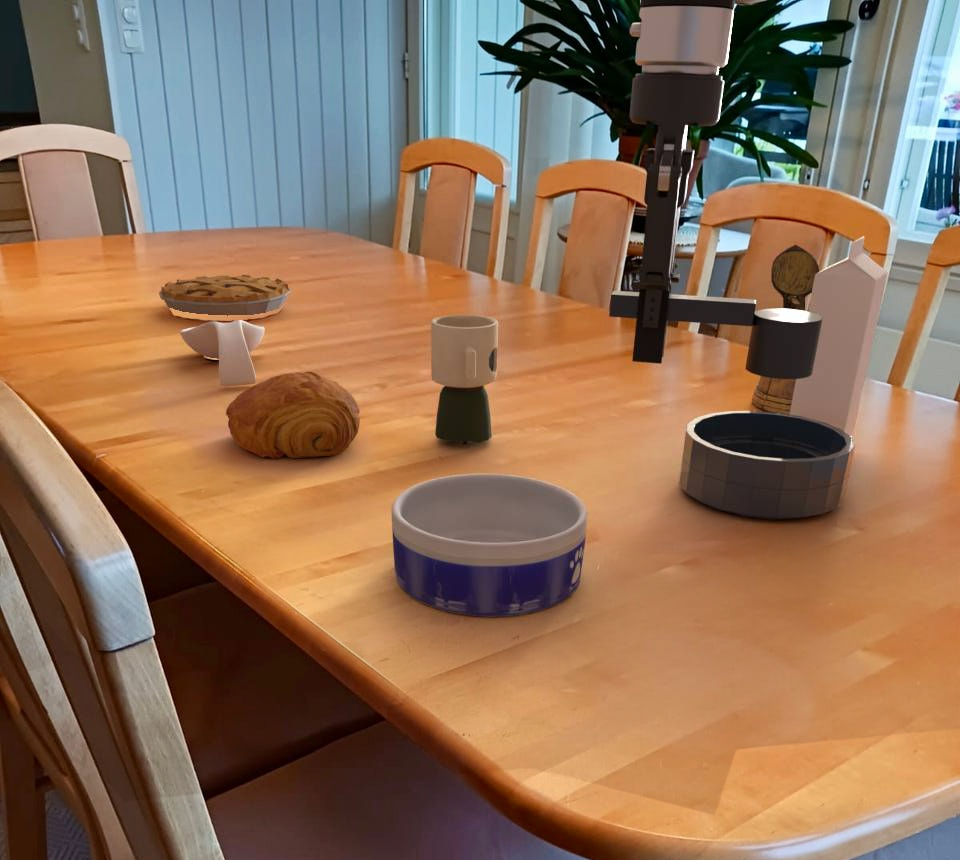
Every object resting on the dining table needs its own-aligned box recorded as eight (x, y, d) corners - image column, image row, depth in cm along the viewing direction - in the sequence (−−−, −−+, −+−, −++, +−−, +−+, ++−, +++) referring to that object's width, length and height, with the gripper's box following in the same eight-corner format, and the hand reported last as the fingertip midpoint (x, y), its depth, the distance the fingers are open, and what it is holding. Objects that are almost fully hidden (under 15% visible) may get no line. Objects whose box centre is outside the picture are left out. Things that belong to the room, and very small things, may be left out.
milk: (849, 451, 108) (897, 238, 97) (837, 466, 103) (886, 245, 93) (794, 441, 111) (835, 233, 100) (780, 455, 106) (821, 239, 95)
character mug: (503, 455, 104) (507, 331, 98) (437, 457, 103) (437, 332, 97) (486, 425, 114) (489, 310, 107) (426, 426, 113) (425, 310, 106)
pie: (310, 303, 175) (308, 273, 173) (259, 327, 157) (256, 295, 154) (199, 295, 179) (196, 267, 177) (137, 319, 161) (132, 287, 158)
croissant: (353, 435, 116) (351, 366, 113) (367, 460, 102) (365, 382, 99) (229, 438, 113) (224, 367, 110) (226, 463, 99) (219, 383, 96)
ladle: (809, 365, 92) (822, 299, 89) (814, 381, 87) (827, 312, 84) (609, 350, 96) (615, 286, 93) (603, 365, 90) (608, 298, 88)
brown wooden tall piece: (805, 387, 131) (831, 245, 122) (834, 417, 119) (865, 261, 110) (738, 386, 131) (760, 243, 122) (761, 415, 119) (786, 259, 110)
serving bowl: (833, 474, 101) (845, 417, 98) (849, 531, 88) (863, 468, 85) (682, 460, 104) (689, 405, 101) (675, 514, 91) (683, 452, 88)
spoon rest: (180, 349, 143) (173, 298, 140) (260, 344, 147) (256, 295, 143) (194, 391, 124) (187, 333, 120) (286, 385, 127) (282, 329, 124)
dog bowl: (441, 525, 87) (441, 461, 84) (605, 555, 82) (611, 488, 79) (359, 595, 75) (355, 523, 72) (546, 636, 70) (550, 560, 67)
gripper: (641, 72, 88) (616, 338, 99) (625, 68, 75) (599, 374, 86) (725, 74, 86) (691, 344, 98) (724, 70, 73) (684, 381, 85)
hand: (648, 357), depth 92 cm, fingers closed on ladle, 2 cm apart
